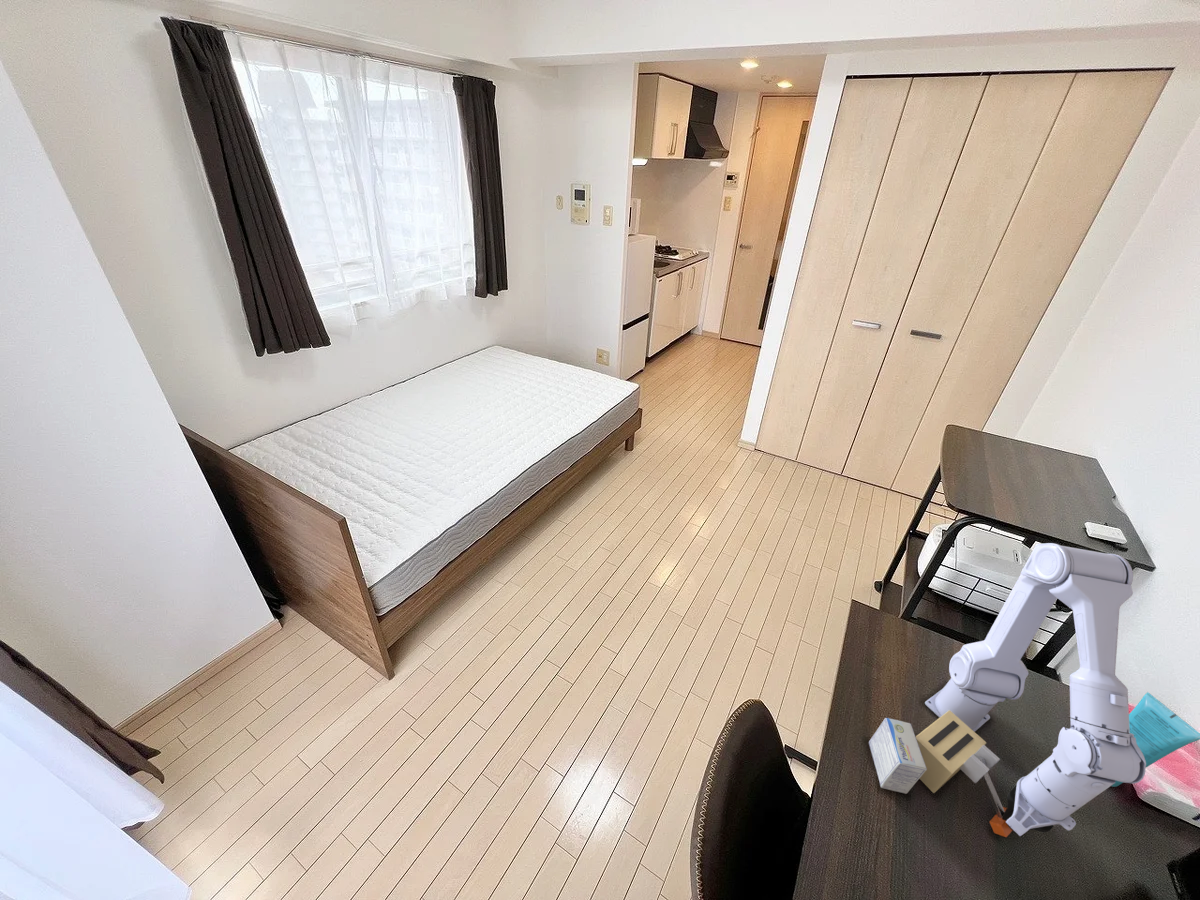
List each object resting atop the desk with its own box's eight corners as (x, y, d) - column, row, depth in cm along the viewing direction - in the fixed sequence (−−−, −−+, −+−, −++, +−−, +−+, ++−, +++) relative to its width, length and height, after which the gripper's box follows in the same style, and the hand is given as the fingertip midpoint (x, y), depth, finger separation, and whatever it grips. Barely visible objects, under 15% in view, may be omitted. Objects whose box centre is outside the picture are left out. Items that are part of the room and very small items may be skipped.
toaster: (932, 730, 92) (955, 702, 87) (982, 776, 86) (1010, 749, 81) (898, 757, 87) (920, 729, 82) (948, 809, 81) (976, 782, 76)
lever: (979, 752, 82) (990, 754, 81) (1008, 818, 80) (1020, 822, 79) (965, 765, 80) (976, 768, 79) (994, 833, 78) (1006, 837, 77)
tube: (1132, 788, 86) (1212, 731, 76) (1116, 798, 84) (1196, 741, 74) (1085, 747, 92) (1154, 688, 82) (1069, 755, 90) (1137, 697, 80)
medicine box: (906, 795, 82) (928, 770, 78) (879, 788, 83) (899, 763, 78) (892, 747, 89) (912, 722, 84) (867, 741, 89) (885, 716, 85)
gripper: (1070, 841, 64) (1015, 878, 72) (1114, 787, 71) (1059, 826, 78) (1013, 788, 69) (967, 827, 77) (1058, 742, 76) (1012, 782, 83)
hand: (1010, 823), depth 78 cm, fingers closed, pressing on lever
